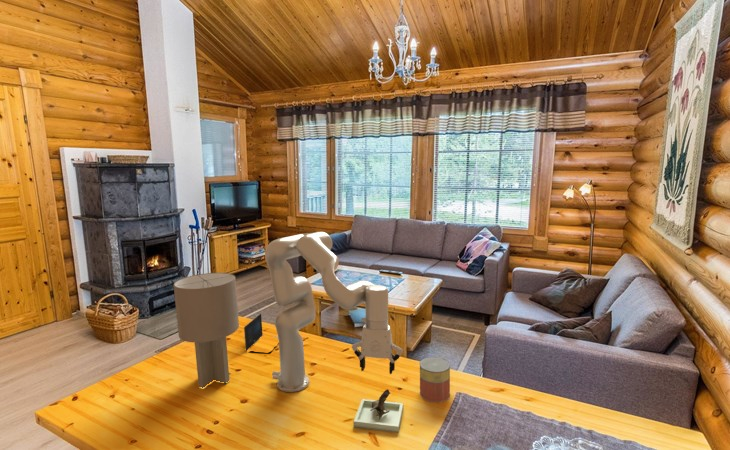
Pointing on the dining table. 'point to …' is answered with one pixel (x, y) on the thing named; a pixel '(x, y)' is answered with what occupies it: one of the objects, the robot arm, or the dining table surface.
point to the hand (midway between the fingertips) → (377, 370)
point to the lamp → (207, 321)
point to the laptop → (253, 331)
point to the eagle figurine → (380, 404)
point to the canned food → (435, 379)
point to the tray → (371, 421)
